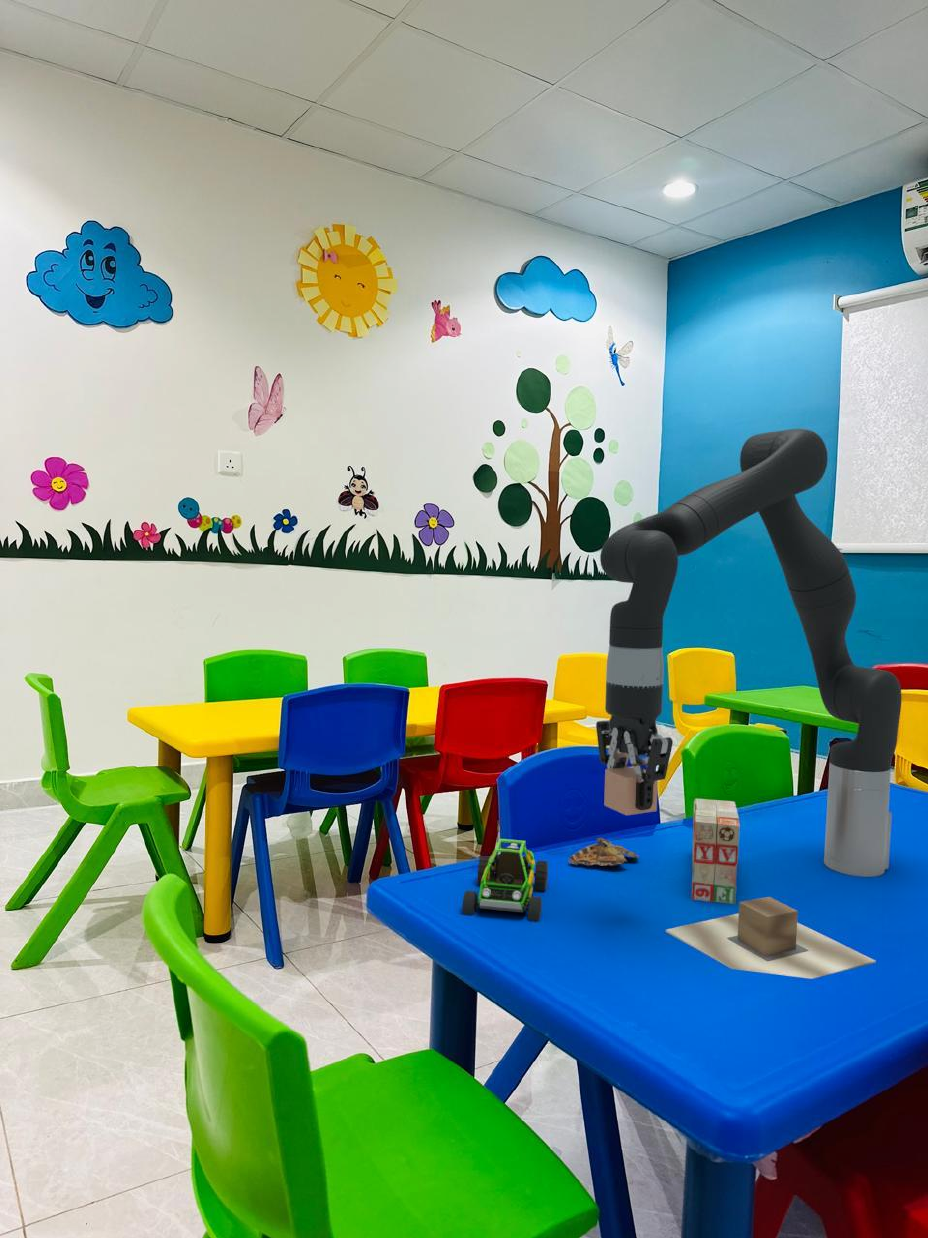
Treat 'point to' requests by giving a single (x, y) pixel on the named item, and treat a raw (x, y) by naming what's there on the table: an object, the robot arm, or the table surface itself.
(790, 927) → the walnut cube
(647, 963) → the table surface
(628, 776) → the terracotta cube
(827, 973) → the cream flat pad
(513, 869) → the motor vehicle
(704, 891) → the stack of blocks
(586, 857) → the butterfly model
